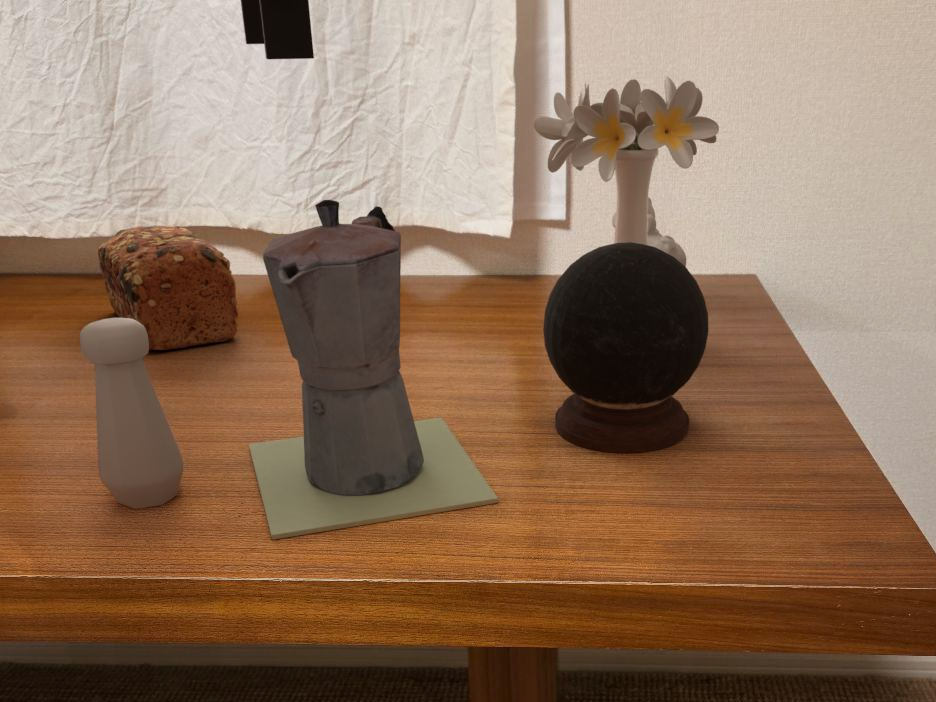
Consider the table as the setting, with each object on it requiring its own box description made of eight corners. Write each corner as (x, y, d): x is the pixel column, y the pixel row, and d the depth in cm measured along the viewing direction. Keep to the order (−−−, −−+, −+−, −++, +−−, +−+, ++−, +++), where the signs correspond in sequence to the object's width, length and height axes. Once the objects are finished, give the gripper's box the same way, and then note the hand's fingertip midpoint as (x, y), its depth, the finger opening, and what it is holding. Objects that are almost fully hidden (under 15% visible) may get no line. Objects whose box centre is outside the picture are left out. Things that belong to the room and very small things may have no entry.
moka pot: (259, 507, 71) (212, 216, 61) (346, 424, 84) (319, 173, 74) (385, 521, 69) (358, 223, 59) (455, 434, 82) (442, 178, 72)
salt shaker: (92, 495, 74) (49, 322, 67) (166, 471, 77) (131, 304, 71) (128, 522, 70) (86, 341, 64) (203, 496, 74) (171, 322, 67)
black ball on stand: (510, 428, 84) (507, 246, 77) (608, 385, 93) (613, 218, 85) (637, 473, 77) (647, 276, 69) (730, 422, 85) (748, 242, 78)
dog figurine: (637, 279, 125) (641, 189, 120) (691, 306, 115) (697, 209, 110) (599, 283, 123) (601, 193, 118) (650, 311, 113) (654, 213, 108)
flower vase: (575, 315, 112) (578, 67, 100) (729, 344, 103) (753, 75, 91) (508, 347, 102) (502, 78, 90) (671, 382, 94) (689, 88, 81)
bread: (245, 341, 105) (230, 243, 100) (139, 358, 100) (118, 257, 95) (201, 297, 119) (186, 210, 114) (106, 311, 114) (86, 220, 109)
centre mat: (272, 540, 68) (271, 535, 68) (249, 448, 81) (248, 443, 81) (498, 502, 73) (498, 497, 72) (442, 421, 86) (441, 417, 86)
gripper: (334, -453, 46) (371, 65, 56) (273, -324, 66) (308, 37, 77) (159, -475, 43) (231, 68, 54) (153, -334, 64) (206, 39, 74)
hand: (277, 51), depth 65 cm, fingers open, 13 cm apart
